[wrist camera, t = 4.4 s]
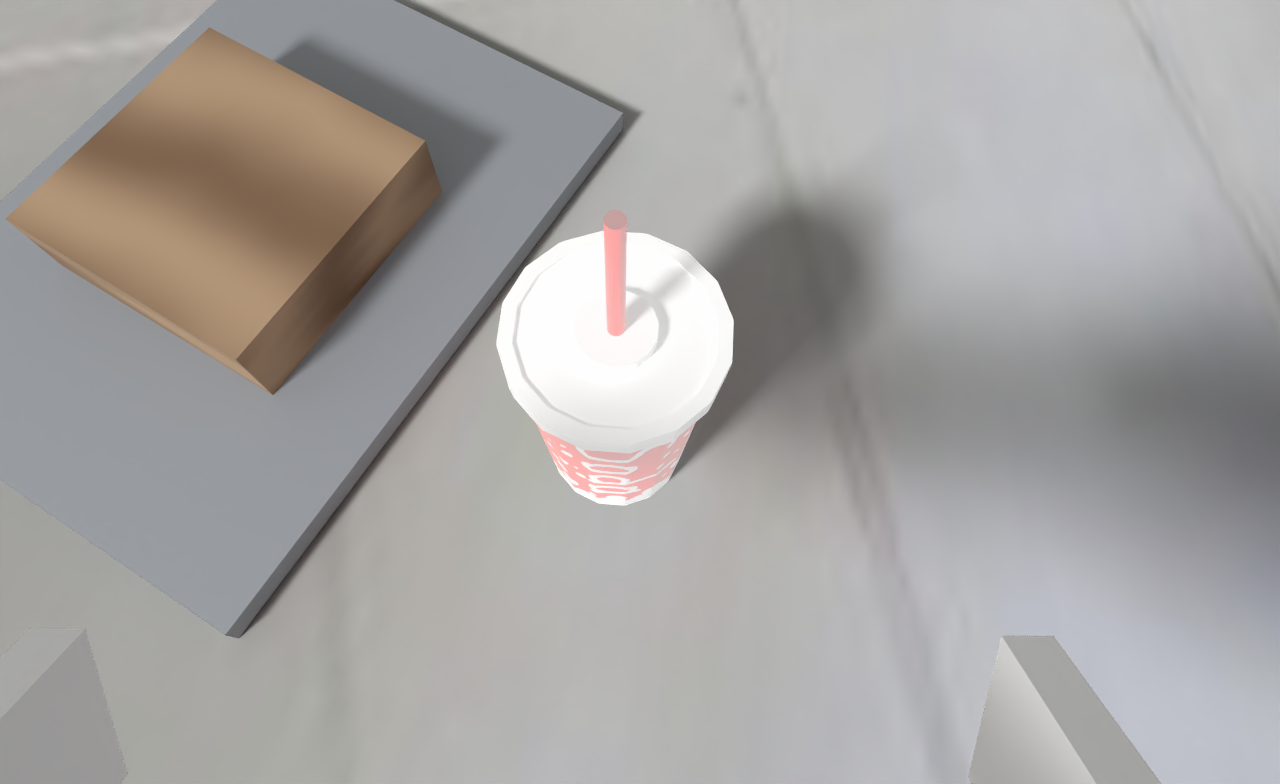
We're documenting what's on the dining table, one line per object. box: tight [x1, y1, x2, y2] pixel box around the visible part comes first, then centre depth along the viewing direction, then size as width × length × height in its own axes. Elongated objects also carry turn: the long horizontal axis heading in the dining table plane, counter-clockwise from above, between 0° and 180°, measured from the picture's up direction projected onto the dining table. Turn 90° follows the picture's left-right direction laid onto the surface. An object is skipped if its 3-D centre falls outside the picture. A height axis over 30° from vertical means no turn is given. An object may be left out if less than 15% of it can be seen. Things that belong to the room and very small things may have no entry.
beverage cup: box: [496, 210, 734, 505], centre depth 23 cm, size 6×6×14 cm
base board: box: [0, 0, 623, 638], centre depth 32 cm, size 24×18×1 cm
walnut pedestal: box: [6, 27, 442, 395], centre depth 30 cm, size 10×10×4 cm
